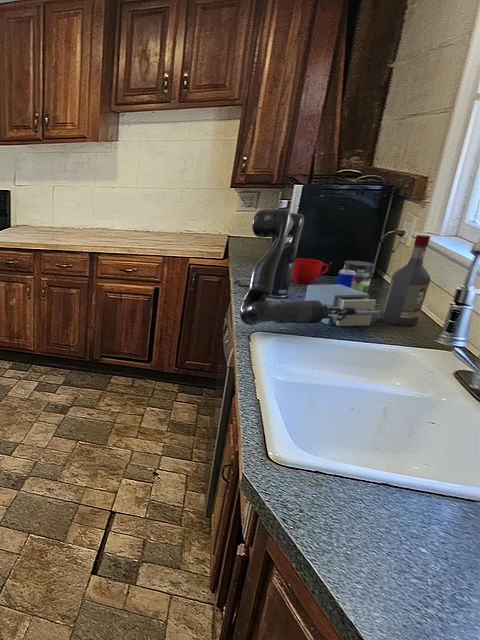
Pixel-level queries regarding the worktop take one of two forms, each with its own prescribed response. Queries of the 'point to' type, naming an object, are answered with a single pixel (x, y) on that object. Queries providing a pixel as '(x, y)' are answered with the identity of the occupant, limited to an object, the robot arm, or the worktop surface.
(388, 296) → the liquor
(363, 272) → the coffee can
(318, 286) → the cabinet
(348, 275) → the beverage can
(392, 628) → the worktop surface
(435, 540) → the worktop surface
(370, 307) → the drawer
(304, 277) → the ceramic cup
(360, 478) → the worktop surface
